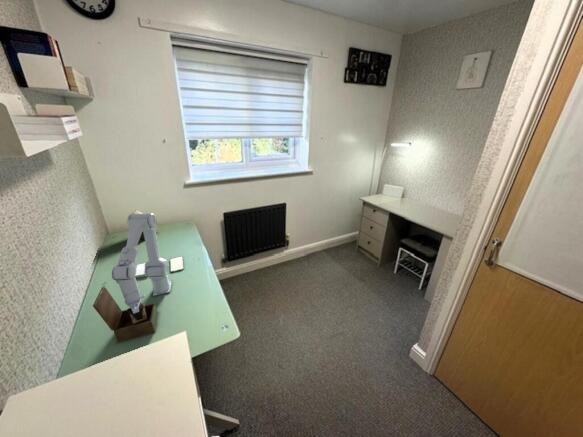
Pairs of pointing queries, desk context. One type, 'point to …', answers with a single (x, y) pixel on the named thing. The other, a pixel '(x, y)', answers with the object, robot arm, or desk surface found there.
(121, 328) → the keepsake box
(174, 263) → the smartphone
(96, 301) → the box lid
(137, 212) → the owl
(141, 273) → the hard drive
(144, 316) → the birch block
